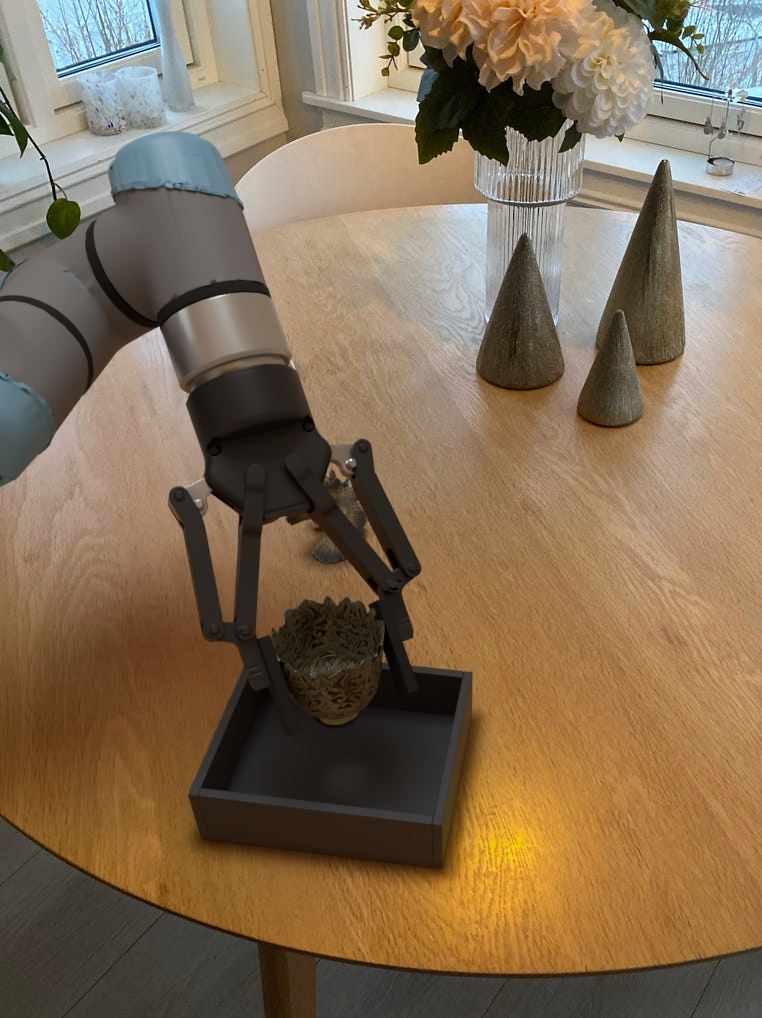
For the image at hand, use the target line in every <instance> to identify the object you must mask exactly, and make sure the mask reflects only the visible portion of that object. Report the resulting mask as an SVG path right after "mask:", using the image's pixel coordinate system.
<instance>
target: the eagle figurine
mask: <svg viewBox="0 0 762 1018" xmlns="http://www.w3.org/2000/svg"><path fill="white" fill-rule="evenodd" d="M323 485H324V487H325V488H326V489H327V490H328V492H329V493H330V494H331V495H332V496H333V498H334V499H335V500H336V502H337V504H338V507H339V508H340V509H341V511H342V512H343V513H344V514H345V516H346V517H347V518H348V519H349V520H350V522H351V523H352V524H353V525H354V526H355V528H356V529H357V530H358V531H359V533H360V534H361V535H362V533H363V531H364V529H365V526H366V524H367V517H366V515H365V513H364V511H363V509H362V507H361V506H359V505H360V503H359V501H358V499H357V497H356V495H355V493H354V490H353V488H352V485H351V482H350V478H349V477H346V478H345V480H344V481H342V480H341V479H340V478H338V477H337V475H336V472H335V470H334V469H330V471H329V474H328V476H327V475H326V476H325V480H324V483H323ZM309 520H311V519H310V517H309V516H308V515H307V514H306V513H305V514H301V515H298V516H285V521H286V523H287V524H288V525H290V526H295V525H297V524H300V523H302V522H305V521H309ZM312 522H313V521H312ZM312 524H313V525H312V529H313V530H315V529H316V528H320V527H319V525H317V524H316V523H314V522H313V523H312ZM322 534H323V535H322V537H321V538H320V540H319V541H318V542H317V543H316V545H315V546H314V547H313V550H312V551H311V554H312V555H314V559H315V560H318V562H319V563H320V564H325V565H329V564H331V563H333V564H334V563H337V562H339V561H340V560H343V561H344V560H346V558H345V557H344V555H343V554H342V553H341V552H340V551H339V549H338V548H337V547H336V546H335V545H334V543H333V542H332V541H331V540H330V539H329V537H328V536H327V535H326V534H325V533H324V532H323V533H322Z"/></svg>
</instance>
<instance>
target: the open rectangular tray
mask: <svg viewBox="0 0 762 1018" xmlns="http://www.w3.org/2000/svg"><path fill="white" fill-rule="evenodd" d="M411 667H412V670H413V673H414V676H415V679H416V682H417V685H418V688H419V690H417V691H415V692H412V693H409V694H400V695H398V692H397V689H396V686H395V683H394V680H393V677H392V674H391V671H390V668H389V665H388V662H383V661H382V669H381V676H380V681H379V685H378V688H377V691H376V693H375V695H374V697H373V698H372V700H371V701H370V702H369V704H368V705H367V706H366V707H365V708H364V709H362V712H361V714H360V716H359V717H358V719H357V720H356V721H355V722H354V723H353V724H351V725H349V726H347V727H344V728H340V729H331V728H327V727H324V726H322V725H320V724H319V723H318V722H317V721H316V720H315V719H314V718H313V716H311V715H309V714H307V713H306V712H304V711H303V710H301V709H300V708H299V707H298V706H297V705H296V704H295V703H294V701H293V700H292V702H293V705H294V708H295V711H296V714H297V717H298V720H299V722H300V725H301V728H302V731H303V732H301V733H298V734H295V735H292V736H288V735H285V733H284V730H283V727H282V724H281V722H280V719H279V716H278V713H277V710H276V707H275V704H274V701H273V698H272V695H271V692H270V689H269V687H267V688H264V689H261V690H258V691H255V690H254V689H253V687H252V686H251V685H250V683H249V680H248V677H247V674H246V671H245V668H244V666H243V667H242V670H241V672H240V675H239V677H238V679H237V680H236V683H235V686H234V687H233V689H232V690H233V691H232V693H231V696H230V697H229V700H228V701H227V703H226V706H225V708H224V711H223V713H222V715H221V717H220V720H219V722H218V725H217V727H216V729H215V731H214V733H213V736H212V738H211V740H210V743H209V745H208V747H207V750H206V752H205V754H204V756H203V759H202V761H201V763H200V766H199V768H198V770H197V773H196V774H195V777H194V779H193V782H192V784H191V786H190V789H189V791H188V793H187V797H188V800H189V803H190V806H191V810H192V813H193V816H194V819H195V823H196V826H197V830H198V832H199V836H200V839H202V840H208V841H209V840H210V841H217V842H226V843H233V844H241V845H247V846H248V845H250V846H257V847H265V848H274V849H281V850H282V849H283V850H289V851H296V852H306V853H313V854H320V855H327V856H328V855H329V856H335V857H336V856H337V857H346V858H352V859H361V860H369V861H377V862H386V863H393V864H399V865H408V866H409V865H410V866H415V867H424V868H432V869H433V868H434V869H441V870H443V869H444V866H445V859H446V855H447V850H448V846H449V840H450V833H451V829H452V824H453V819H454V814H455V809H456V804H457V798H458V793H459V787H460V782H461V776H462V772H463V767H464V761H465V756H466V750H467V747H468V746H467V745H468V741H469V736H470V735H469V734H470V730H471V726H472V725H471V724H472V719H473V685H474V684H473V683H474V682H473V680H474V679H473V676H474V674H473V672H472V671H468V670H467V671H466V670H459V669H448V668H438V667H430V666H421V665H412V664H411ZM291 699H292V698H291Z"/></svg>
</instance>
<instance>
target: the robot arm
mask: <svg viewBox="0 0 762 1018" xmlns="http://www.w3.org/2000/svg"><path fill="white" fill-rule="evenodd" d="M107 177H108V181H109V185H110V192H109V193H110V195H111V197H112V200H113V203H114V206H112V207H111V208H110V209H107V210H106V211H104V212H103V213H102V214H100V215H99V216H98V217H97V218H96V219H94V220H93V221H91V222H90V223H89V224H88V225H86V226H84V227H83V228H81V229H79V230H77V231H76V232H74V233H72V234H70V235H68V236H67V237H65V238H63V239H62V240H60V241H58V242H56V243H55V244H53V245H51V246H50V247H48V248H46V249H44V250H42V251H41V252H39V253H38V254H36V255H34V256H32V257H31V258H25V259H22V260H21V261H20V262H18V263H15V265H14V266H13V267H12V268H11V269H10V270H9V271H7V272H6V273H4V275H2V277H0V488H1V487H3V486H5V485H8V484H11V482H13V481H16V480H17V479H18V478H19V477H20V476H21V475H22V474H23V473H24V472H25V470H26V469H27V468H28V467H29V466H30V464H31V463H32V462H34V460H35V459H36V458H37V457H38V456H40V455H42V454H43V452H45V451H46V450H47V449H48V448H49V447H50V446H51V444H52V441H53V439H54V437H55V435H56V434H57V432H58V431H59V429H60V428H61V427H62V425H63V424H64V423H65V421H66V420H67V418H68V416H70V414H71V412H72V411H73V410H74V408H76V406H77V404H78V403H79V401H80V400H81V399H82V398H83V396H85V395H86V393H88V391H90V389H91V388H92V386H93V385H94V383H95V382H96V381H97V379H98V378H99V376H100V375H101V374H102V373H103V372H104V370H105V369H106V367H107V366H108V365H109V363H110V362H111V361H112V359H113V358H114V357H115V355H116V354H117V353H118V352H119V351H120V350H121V349H123V348H124V347H125V346H127V345H129V344H131V343H132V342H134V341H135V340H137V339H139V338H141V337H143V336H145V335H146V334H148V333H150V332H152V331H154V330H156V329H158V328H159V330H160V333H161V334H162V338H163V340H164V343H165V347H166V349H167V352H168V355H169V358H170V361H171V365H172V368H173V371H174V373H175V377H176V379H177V383H178V386H179V388H180V390H181V391H183V392H185V393H186V394H188V396H187V399H186V401H185V406H186V409H187V413H188V415H189V418H190V421H191V424H192V427H193V430H194V434H195V436H196V439H197V441H198V445H199V447H200V450H201V454H202V456H203V460H204V472H203V476H202V478H200V479H198V480H196V481H194V482H192V483H190V484H187V485H185V486H184V487H183V486H180V485H176V486H173V487H172V488H171V489H170V491H169V493H168V497H167V498H168V499H167V506H168V509H169V510H170V512H171V513H172V515H173V517H174V519H175V520H176V523H177V524H178V526H179V527H180V528H181V531H182V534H183V535H182V536H183V539H184V546H185V551H186V556H187V561H188V566H189V572H190V576H191V577H190V578H191V582H192V588H193V594H194V598H195V603H196V610H197V614H198V615H197V616H198V621H199V625H200V630H201V635H202V638H203V639H204V641H206V642H208V643H229V644H232V645H233V646H235V647H236V650H237V651H238V653H239V656H240V659H241V663H242V664H243V665H242V666H243V667H244V668H245V671H246V674H247V677H248V680H249V683H250V685H251V686H252V687H253V689H254V690H255V691H258V690H261V689H264V688H267V687H269V689H270V692H271V695H272V698H273V701H274V704H275V707H276V710H277V713H278V716H279V719H280V722H281V724H282V727H283V730H284V733H285V735H288V736H292V735H295V734H298V733H301V732H303V731H302V728H301V725H300V722H299V720H298V717H297V714H296V711H295V708H294V705H293V702H292V699H291V696H290V693H289V690H288V687H287V684H286V681H285V679H284V676H283V673H282V670H281V667H280V664H279V661H278V658H277V655H276V652H275V649H274V646H273V643H272V641H271V638H270V636H271V634H268V635H264V636H260V637H258V636H257V631H256V630H257V613H258V599H259V597H258V596H259V581H260V561H261V547H262V545H261V544H262V533H263V526H266V525H269V524H273V523H274V522H276V521H278V520H279V519H281V518H283V517H287V516H298V515H301V514H305V513H306V514H307V515H308V516H309V517H310V519H309V520H311V521H312V522H314V523H316V524H317V525H319V527H318V528H320V529H321V530H322V531H323V534H324V533H325V534H326V535H327V536H328V537H329V539H330V540H331V541H332V542H333V543H334V545H335V546H336V547H337V548H338V549H339V551H340V552H341V553H342V554H343V555H344V557H345V560H347V562H348V563H349V564H350V565H351V566H352V567H353V569H354V570H355V571H356V572H357V573H358V575H359V576H360V577H361V579H363V581H364V582H365V583H366V584H367V586H368V587H369V588H370V589H371V590H372V591H373V593H374V594H375V595H376V596H377V597H378V599H377V600H375V601H373V602H371V603H369V604H367V606H368V609H369V610H370V609H372V608H374V609H375V611H376V614H377V620H378V621H381V620H383V622H384V627H385V632H384V644H383V654H384V656H385V659H386V663H388V665H389V668H390V671H391V674H392V677H393V680H394V683H395V686H396V689H397V692H398V695H400V694H409V693H412V692H415V691H417V690H419V688H418V685H417V682H416V679H415V676H414V673H413V670H412V667H411V665H412V664H411V662H410V658H409V655H408V653H407V650H406V647H405V644H404V642H407V641H408V640H412V639H414V626H413V624H412V621H411V618H410V615H409V612H408V609H407V606H406V603H405V601H404V597H403V589H404V588H405V586H406V585H408V583H411V581H412V580H414V579H415V578H416V577H418V576H419V575H420V574H421V573H422V564H421V563H420V560H419V558H418V557H417V554H416V552H415V550H414V549H413V546H412V543H411V542H410V540H409V538H408V535H407V533H406V532H405V530H404V528H403V526H402V524H401V521H400V520H399V518H398V515H397V513H396V511H395V510H394V507H393V505H392V503H391V501H390V500H389V497H388V495H387V493H386V491H385V489H384V487H383V485H382V483H381V481H380V479H379V477H378V475H377V473H376V470H375V462H374V461H375V460H374V454H373V453H374V452H373V447H372V444H371V442H370V441H369V439H366V438H358V439H357V440H356V441H355V442H354V443H346V444H342V443H341V444H330V443H329V441H328V440H326V438H324V437H323V435H322V434H321V433H320V432H319V430H318V428H317V426H316V423H315V420H314V417H313V414H312V411H311V407H310V405H309V402H308V400H307V399H308V398H307V395H306V393H305V390H304V387H303V384H302V380H301V378H300V375H299V373H298V370H294V369H293V368H291V367H290V366H288V365H289V363H290V361H291V359H292V360H293V354H292V351H291V349H290V346H289V342H288V340H287V337H286V335H285V334H286V333H285V331H284V328H283V325H282V323H281V319H280V318H279V314H278V311H277V308H276V306H275V303H274V301H273V298H272V296H271V295H272V294H271V292H270V289H269V287H268V285H267V282H266V279H265V276H264V272H263V270H262V266H261V264H260V260H259V257H258V254H257V251H256V248H255V245H254V242H253V239H252V235H251V232H250V229H249V226H248V222H247V220H246V217H245V212H244V211H245V207H244V203H243V201H242V200H241V198H240V197H239V196H238V193H237V190H236V188H235V186H234V183H233V181H232V178H231V176H230V173H229V170H228V169H227V166H226V163H225V161H224V158H223V156H222V155H221V152H220V151H219V149H218V148H217V146H215V145H214V144H213V143H211V142H210V141H209V140H207V139H204V138H202V137H200V136H199V135H197V134H195V133H191V132H185V131H177V130H175V131H174V130H173V131H169V130H168V131H160V132H154V133H149V134H147V135H144V136H140V137H138V138H135V139H133V140H131V141H130V142H129V143H126V144H124V145H123V146H122V147H121V148H119V150H118V151H117V152H116V153H115V157H114V159H113V160H111V162H110V163H109V165H108V168H107ZM331 464H333V465H335V466H336V467H337V469H338V471H339V474H341V476H343V477H344V478H348V477H349V478H350V482H351V485H352V488H353V490H354V493H355V495H356V497H357V499H358V501H357V502H358V504H359V505H360V507H361V509H362V511H364V514H365V515H366V517H365V518H366V520H367V521H368V523H369V526H370V528H371V529H372V531H373V533H374V535H375V537H376V540H377V541H378V543H379V545H380V547H381V549H382V551H383V553H384V556H385V558H386V559H387V560H388V563H389V565H390V567H391V569H392V570H391V569H390V567H388V565H387V564H386V563H385V561H384V560H383V559H382V558H381V557H380V556H379V554H378V553H377V551H376V550H375V549H374V548H373V547H372V546H371V544H370V543H369V542H368V541H367V539H366V538H365V537H364V536H363V535H362V533H361V534H360V533H359V531H358V530H357V529H356V528H355V526H354V525H353V524H352V523H351V522H350V520H349V519H348V518H347V517H346V516H345V514H344V513H343V512H342V511H341V509H340V508H339V507H338V504H337V502H336V500H335V499H334V498H333V496H332V495H331V494H330V493H329V492H328V490H327V489H326V488H325V487H324V485H323V483H324V480H325V476H327V474H328V470H329V466H330V465H331ZM210 495H212V496H214V498H216V499H218V500H219V501H220V502H221V503H223V504H225V505H226V506H227V507H228V508H230V509H231V510H232V511H234V512H235V513H237V514H238V525H237V550H236V551H237V554H236V568H235V569H236V570H235V585H234V586H235V587H234V602H233V603H234V604H233V617H232V618H233V620H232V621H224V619H223V614H222V608H221V604H220V597H219V591H218V588H217V582H216V576H215V571H214V566H213V561H212V556H211V555H212V554H211V550H210V545H209V538H208V535H207V529H206V525H205V521H204V518H203V517H205V516H206V514H207V513H208V509H209V504H208V499H207V498H208V497H209V496H210Z"/></svg>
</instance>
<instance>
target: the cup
mask: <svg viewBox="0 0 762 1018" xmlns="http://www.w3.org/2000/svg"><path fill="white" fill-rule="evenodd" d="M283 616H284V624H282V625H280V626H278V630H276V629H275V627H274V626H272V627H271V635H270V638H271V641H272V643H273V646H274V649H275V652H276V655H277V658H278V661H279V664H280V667H281V670H282V673H283V676H284V679H285V681H286V684H287V687H288V690H289V693H290V696H291V698H292V700H293V701H294V703H295V704H296V705H297V706H298V707H299V708H300V709H301V710H303V711H304V712H306V713H307V714H309V715H311V716H313V718H314V719H315V720H316V721H317V722H318V723H319V724H320V725H322V726H324V727H327V728H331V729H340V728H344V727H347V726H349V725H351V724H353V723H354V722H355V721H356V720H357V719H358V717H359V716H360V714H361V712H362V709H364V708H365V707H366V706H367V705H368V704H369V702H370V701H371V700H372V698H373V697H374V695H375V693H376V691H377V688H378V685H379V681H380V676H381V669H382V662H383V658H384V657H383V656H384V651H383V644H384V632H385V627H384V622H383V620H381V621H378V620H377V614H376V611H375V609H374V608H372V609H369V610H367V608H366V604H365V603H364V602H363V601H362V600H354V601H352V600H351V598H350V597H349V596H345V597H344V598H343V599H342V600H341V601H339V602H338V604H336V603H335V601H334V600H333V599H332V597H330V596H329V595H326V596H325V598H324V600H323V603H320V602H318V601H316V600H313V599H308V598H303V599H302V600H301V601H300V602H299V603H298V605H297V606H296V607H295V608H291V607H290V608H287V609H286V610H285V611H284V613H283Z"/></svg>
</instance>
